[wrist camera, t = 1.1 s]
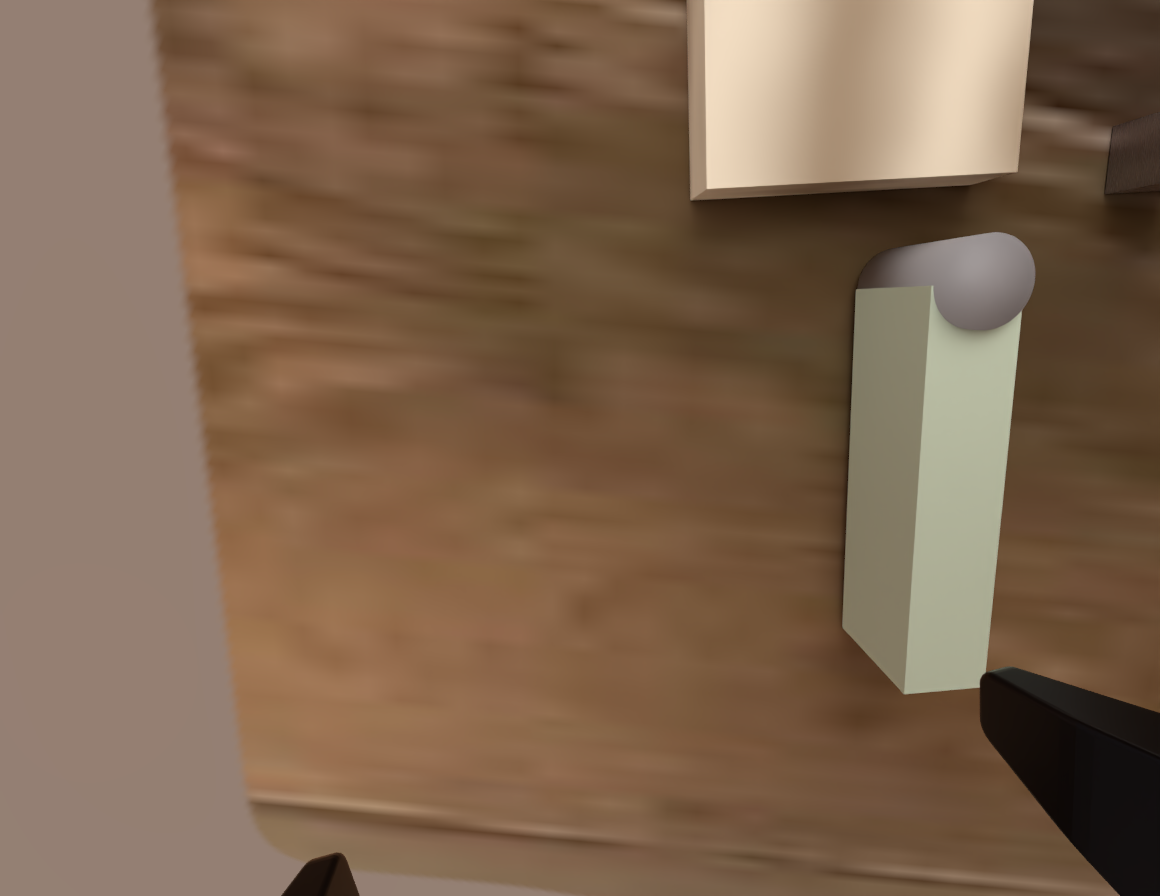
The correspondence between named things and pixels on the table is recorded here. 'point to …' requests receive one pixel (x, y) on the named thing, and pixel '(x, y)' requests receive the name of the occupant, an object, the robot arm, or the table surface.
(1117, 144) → the leg stop
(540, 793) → the table surface
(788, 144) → the stool seat
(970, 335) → the stool leg
